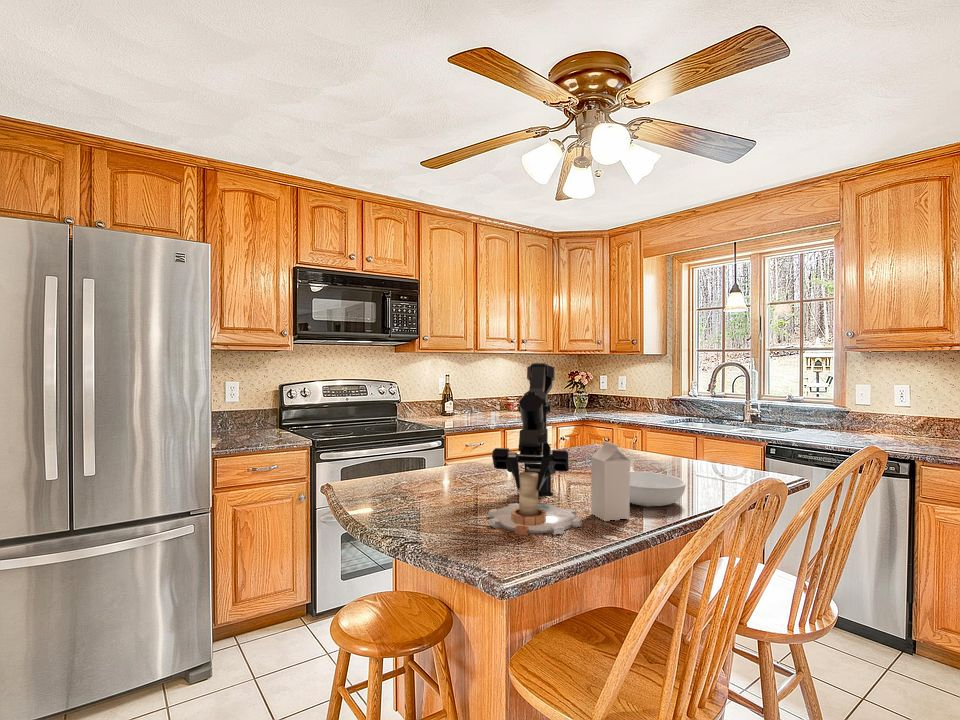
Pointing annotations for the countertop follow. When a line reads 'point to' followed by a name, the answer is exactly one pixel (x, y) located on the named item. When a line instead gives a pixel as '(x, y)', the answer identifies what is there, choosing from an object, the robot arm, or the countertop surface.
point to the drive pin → (528, 494)
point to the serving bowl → (655, 489)
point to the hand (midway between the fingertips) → (528, 489)
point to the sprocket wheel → (534, 519)
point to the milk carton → (610, 483)
